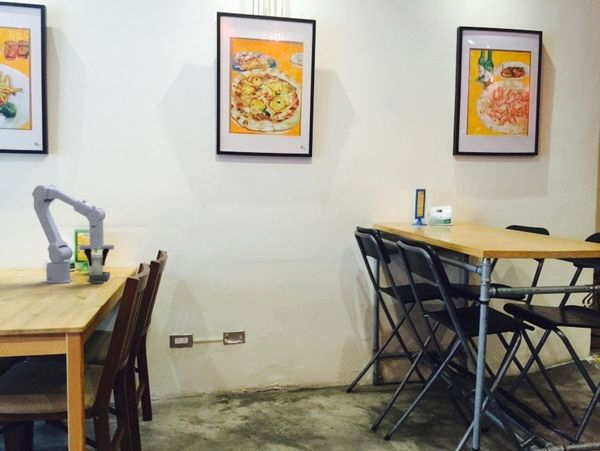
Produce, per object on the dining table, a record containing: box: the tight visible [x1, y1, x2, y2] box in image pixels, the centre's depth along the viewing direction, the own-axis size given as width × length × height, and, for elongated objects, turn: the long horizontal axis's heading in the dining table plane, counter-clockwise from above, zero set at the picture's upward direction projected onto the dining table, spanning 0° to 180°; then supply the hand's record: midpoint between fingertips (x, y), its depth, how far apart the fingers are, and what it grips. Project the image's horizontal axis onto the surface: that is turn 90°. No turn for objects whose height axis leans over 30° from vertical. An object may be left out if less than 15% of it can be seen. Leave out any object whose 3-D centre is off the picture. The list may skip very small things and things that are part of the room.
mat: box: [89, 281, 105, 285], centre depth 228 cm, size 6×6×1 cm
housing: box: [88, 271, 111, 283], centre depth 236 cm, size 8×8×3 cm
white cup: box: [87, 252, 105, 275], centre depth 251 cm, size 8×8×10 cm
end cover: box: [91, 257, 104, 275], centre depth 228 cm, size 5×5×7 cm
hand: (97, 265), depth 228 cm, fingers closed on end cover, 5 cm apart
